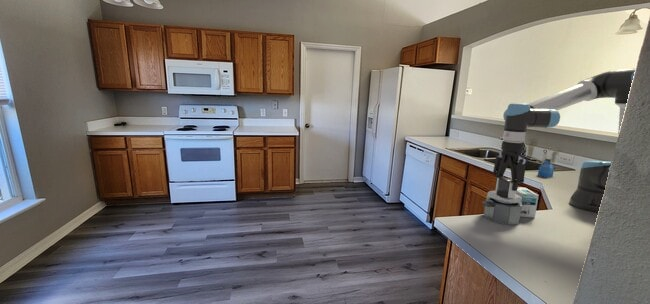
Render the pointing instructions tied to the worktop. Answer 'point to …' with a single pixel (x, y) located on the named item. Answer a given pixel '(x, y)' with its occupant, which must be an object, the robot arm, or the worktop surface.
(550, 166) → the perfume bottle
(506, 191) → the lid
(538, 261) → the worktop surface
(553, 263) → the worktop surface
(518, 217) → the pot
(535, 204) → the light bulb box
